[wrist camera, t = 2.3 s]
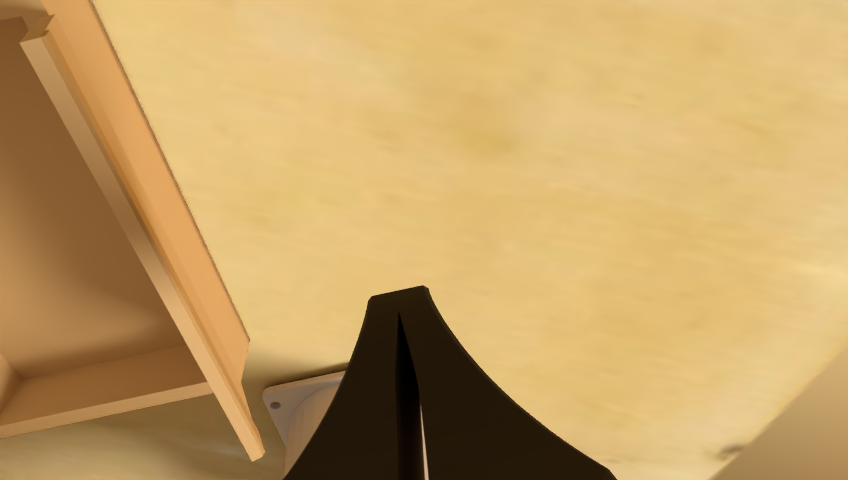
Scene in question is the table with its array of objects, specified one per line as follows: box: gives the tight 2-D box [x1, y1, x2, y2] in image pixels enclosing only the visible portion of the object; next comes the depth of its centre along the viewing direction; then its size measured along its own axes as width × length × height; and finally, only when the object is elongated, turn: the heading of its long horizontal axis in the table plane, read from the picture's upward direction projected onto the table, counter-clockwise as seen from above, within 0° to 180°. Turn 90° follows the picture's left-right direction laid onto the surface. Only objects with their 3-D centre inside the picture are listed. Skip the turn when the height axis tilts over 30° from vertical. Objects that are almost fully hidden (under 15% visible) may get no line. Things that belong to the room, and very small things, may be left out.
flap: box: [20, 14, 265, 462], centre depth 17 cm, size 14×4×1 cm
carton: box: [0, 0, 250, 439], centre depth 21 cm, size 16×11×3 cm
